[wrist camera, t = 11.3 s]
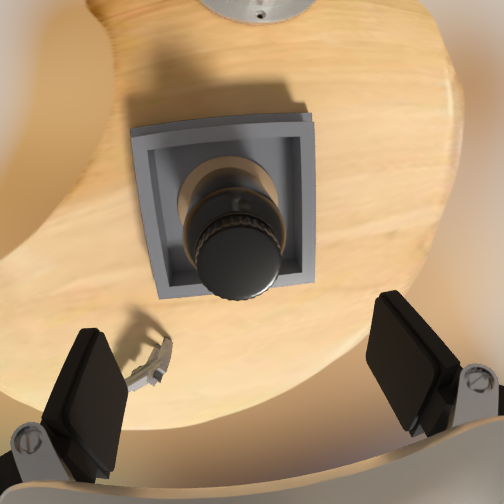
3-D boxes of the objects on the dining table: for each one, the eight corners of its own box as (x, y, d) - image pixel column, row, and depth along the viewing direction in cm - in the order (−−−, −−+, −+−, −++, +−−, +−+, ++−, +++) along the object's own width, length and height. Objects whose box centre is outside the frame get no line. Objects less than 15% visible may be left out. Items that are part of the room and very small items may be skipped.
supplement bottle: (175, 190, 27) (150, 241, 16) (244, 152, 26) (267, 176, 15) (214, 252, 30) (217, 332, 19) (279, 218, 29) (319, 281, 18)
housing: (132, 128, 25) (120, 129, 22) (308, 112, 27) (323, 112, 23) (158, 286, 32) (152, 307, 28) (310, 270, 33) (322, 288, 29)
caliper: (166, 333, 34) (160, 371, 29) (173, 338, 35) (168, 376, 29) (87, 403, 38) (78, 435, 33) (93, 407, 39) (84, 439, 33)
